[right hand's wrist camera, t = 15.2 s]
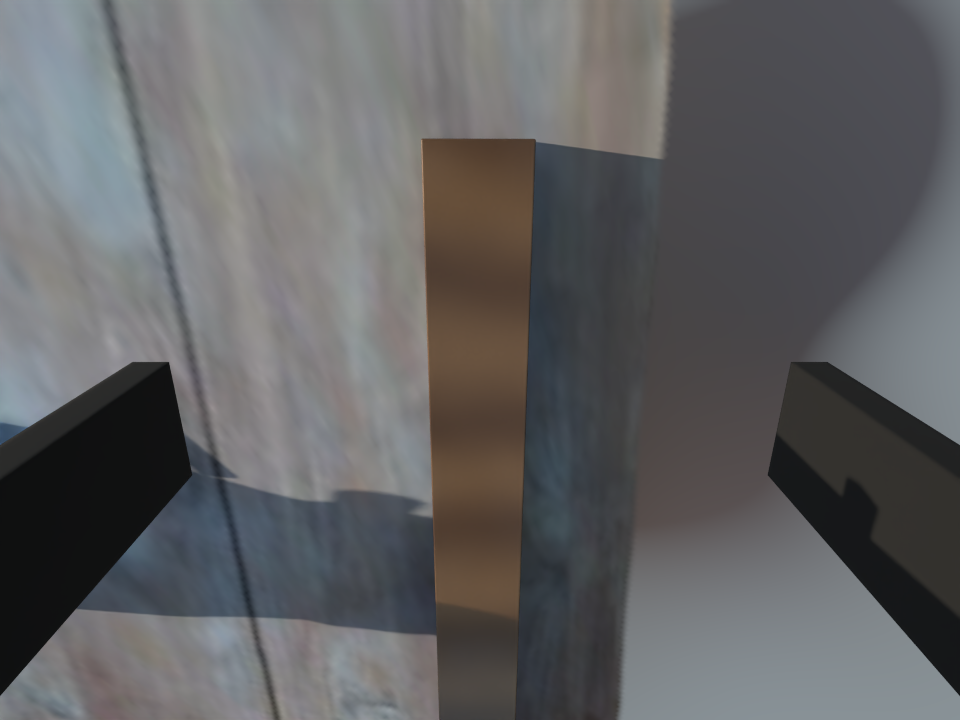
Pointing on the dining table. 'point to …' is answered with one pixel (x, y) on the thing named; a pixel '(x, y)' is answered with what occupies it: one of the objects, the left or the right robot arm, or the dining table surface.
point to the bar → (477, 409)
